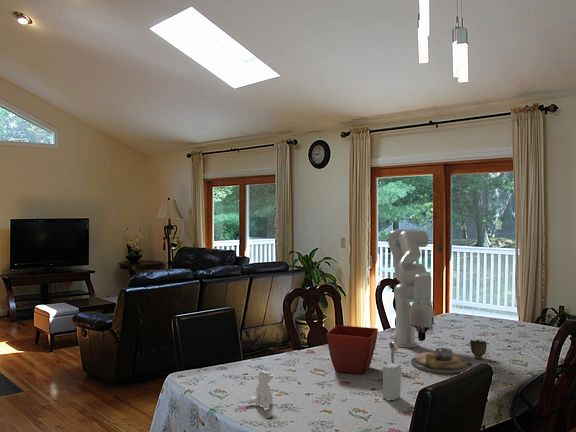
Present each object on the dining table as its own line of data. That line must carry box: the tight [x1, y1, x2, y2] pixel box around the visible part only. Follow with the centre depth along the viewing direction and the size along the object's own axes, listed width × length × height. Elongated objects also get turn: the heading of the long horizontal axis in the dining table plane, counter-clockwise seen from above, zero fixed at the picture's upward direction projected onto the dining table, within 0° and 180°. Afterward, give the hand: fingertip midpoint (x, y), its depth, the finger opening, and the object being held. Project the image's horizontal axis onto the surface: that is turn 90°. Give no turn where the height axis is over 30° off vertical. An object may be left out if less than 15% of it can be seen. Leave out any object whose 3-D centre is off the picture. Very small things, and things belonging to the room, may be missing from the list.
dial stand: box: [388, 341, 400, 364], centre depth 228 cm, size 6×5×12 cm
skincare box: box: [382, 362, 402, 401], centre depth 191 cm, size 6×4×12 cm
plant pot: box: [326, 324, 379, 375], centre depth 226 cm, size 19×19×17 cm
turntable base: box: [410, 356, 473, 375], centre depth 232 cm, size 26×26×1 cm
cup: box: [469, 339, 488, 360], centre depth 243 cm, size 8×7×8 cm
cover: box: [435, 347, 453, 361], centre depth 231 cm, size 7×7×4 cm
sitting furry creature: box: [245, 370, 274, 409], centre depth 185 cm, size 10×9×12 cm
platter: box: [415, 351, 468, 369], centre depth 232 cm, size 22×22×6 cm
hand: (421, 340), depth 240 cm, fingers closed
